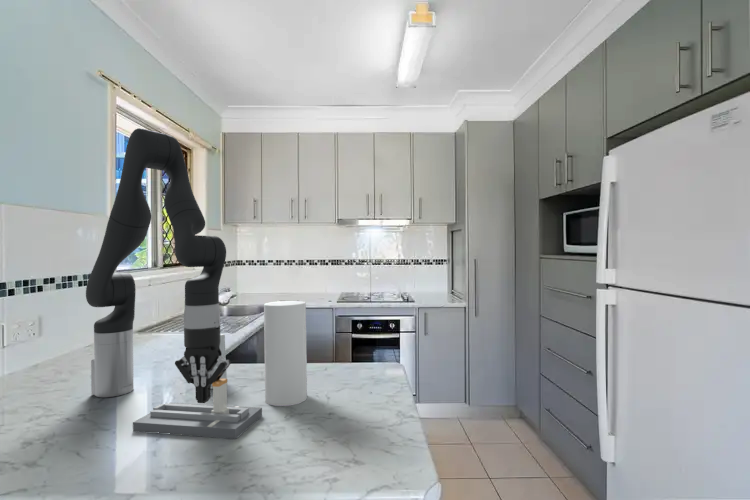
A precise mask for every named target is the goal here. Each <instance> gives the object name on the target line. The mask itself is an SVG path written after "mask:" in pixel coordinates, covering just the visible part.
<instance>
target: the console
mask: <svg viewBox="0 0 750 500" xmlns="http://www.w3.org/2000/svg"><path fill="white" fill-rule="evenodd" d="M226 408H229V414H219V413H211V411H212V410H213V404H205V403H187V402H168V403H167V402H166V403H160V404H158V405H157V406H154V407H152V410H151V411H149V413H148V414H146V415H144V416H142V417H140V418H138V419H136V420H134V421H132V432H133V433H134V432H136V433H146V432H159V433H158V434H160V433H170V434H169V435H174V434H182V435H181V436H187V435H192V436H191V437H201V436H202V438H204V437H205V438H216V439H218V438H219V439H231V440H237V438H238V437H240V436H241V435H242V434H243V433H244V432H246V431H247V430H248V429H249V428H250V427H251V426H253V425H254V424H255V423H256V422H257V421H258V420H259V419H261V418H262V417H263V407H260V406H259V407H257V406H238V405H227V407H226Z"/></svg>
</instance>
